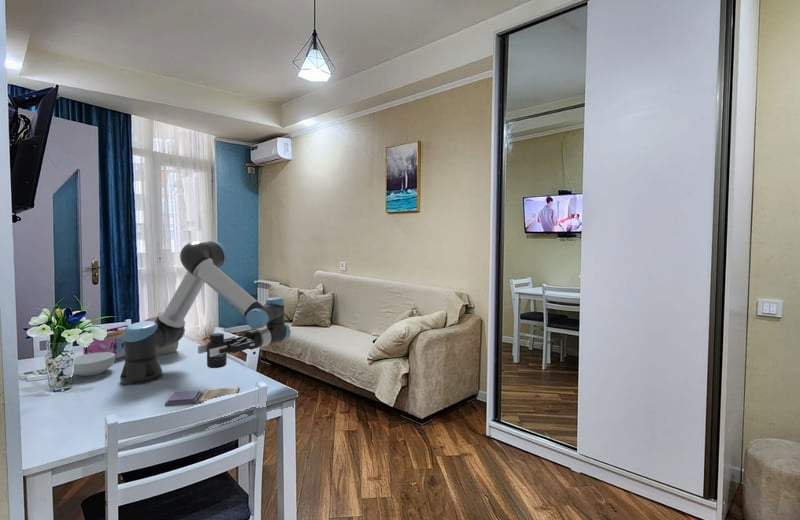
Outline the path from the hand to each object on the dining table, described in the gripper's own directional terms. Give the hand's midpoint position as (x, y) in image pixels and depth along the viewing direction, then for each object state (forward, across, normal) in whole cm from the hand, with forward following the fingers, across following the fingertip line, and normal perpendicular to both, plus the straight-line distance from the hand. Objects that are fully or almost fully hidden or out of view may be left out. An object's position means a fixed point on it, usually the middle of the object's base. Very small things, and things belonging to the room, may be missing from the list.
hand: (204, 351), depth 151 cm
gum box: (-5, +89, -18) cm, 91 cm away
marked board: (-5, 0, -18) cm, 19 cm away
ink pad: (+4, +8, -18) cm, 20 cm away
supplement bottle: (-5, 0, -7) cm, 9 cm away
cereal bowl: (+11, +69, -18) cm, 72 cm away
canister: (-23, +76, -18) cm, 82 cm away
